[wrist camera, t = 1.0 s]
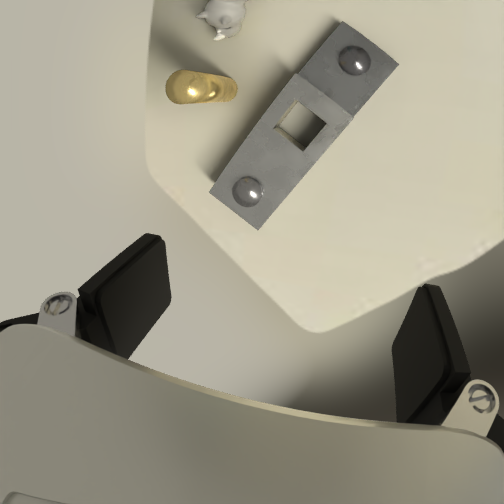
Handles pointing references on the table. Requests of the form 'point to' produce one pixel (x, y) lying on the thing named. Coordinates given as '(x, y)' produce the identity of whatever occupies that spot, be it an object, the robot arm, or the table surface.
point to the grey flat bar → (320, 103)
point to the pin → (199, 87)
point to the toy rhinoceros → (224, 16)
